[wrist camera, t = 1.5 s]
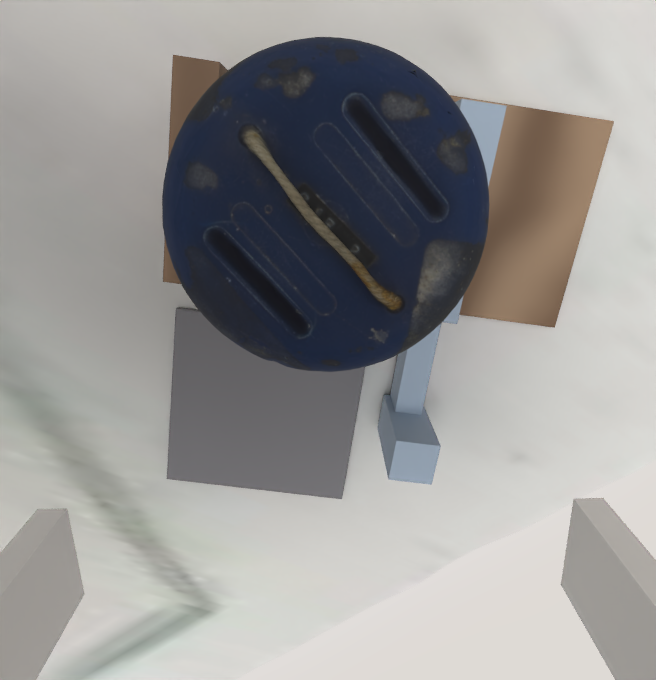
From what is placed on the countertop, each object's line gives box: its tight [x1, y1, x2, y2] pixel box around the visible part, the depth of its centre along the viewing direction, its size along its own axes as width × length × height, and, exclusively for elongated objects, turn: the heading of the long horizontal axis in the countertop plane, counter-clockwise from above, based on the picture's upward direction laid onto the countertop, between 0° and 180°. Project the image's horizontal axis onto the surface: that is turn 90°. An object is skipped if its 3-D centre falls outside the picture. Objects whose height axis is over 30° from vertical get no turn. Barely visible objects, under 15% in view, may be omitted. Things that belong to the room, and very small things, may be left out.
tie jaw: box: [378, 99, 507, 485], centre depth 29 cm, size 3×19×6 cm, turn 172°
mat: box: [167, 308, 365, 499], centre depth 34 cm, size 12×12×1 cm
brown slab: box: [163, 55, 614, 327], centre depth 28 cm, size 23×12×6 cm, turn 82°
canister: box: [162, 37, 490, 372], centre depth 22 cm, size 10×10×18 cm
